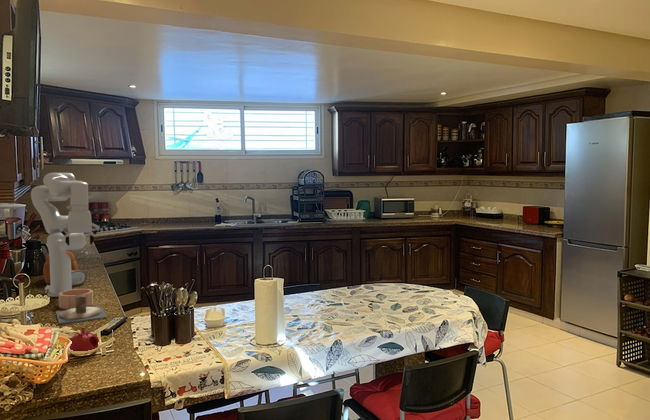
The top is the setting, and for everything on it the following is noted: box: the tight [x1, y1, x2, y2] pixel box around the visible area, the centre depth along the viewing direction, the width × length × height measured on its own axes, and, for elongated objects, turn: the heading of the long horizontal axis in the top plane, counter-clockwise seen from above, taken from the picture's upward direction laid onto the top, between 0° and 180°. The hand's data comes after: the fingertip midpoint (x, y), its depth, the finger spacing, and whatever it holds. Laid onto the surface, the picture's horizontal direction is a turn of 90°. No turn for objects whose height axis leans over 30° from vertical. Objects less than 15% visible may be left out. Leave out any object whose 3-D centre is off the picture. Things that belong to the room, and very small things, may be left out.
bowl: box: [58, 288, 94, 310], centre depth 229 cm, size 14×14×6 cm
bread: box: [42, 250, 79, 285], centre depth 282 cm, size 18×22×17 cm
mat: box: [55, 305, 108, 325], centre depth 213 cm, size 20×18×1 cm
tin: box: [71, 269, 87, 287], centre depth 268 cm, size 15×3×8 cm, turn 141°
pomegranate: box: [69, 326, 100, 351], centre depth 167 cm, size 10×10×9 cm
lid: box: [60, 294, 101, 319], centre depth 212 cm, size 16×16×8 cm
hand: (79, 244), depth 230 cm, fingers open, 9 cm apart
